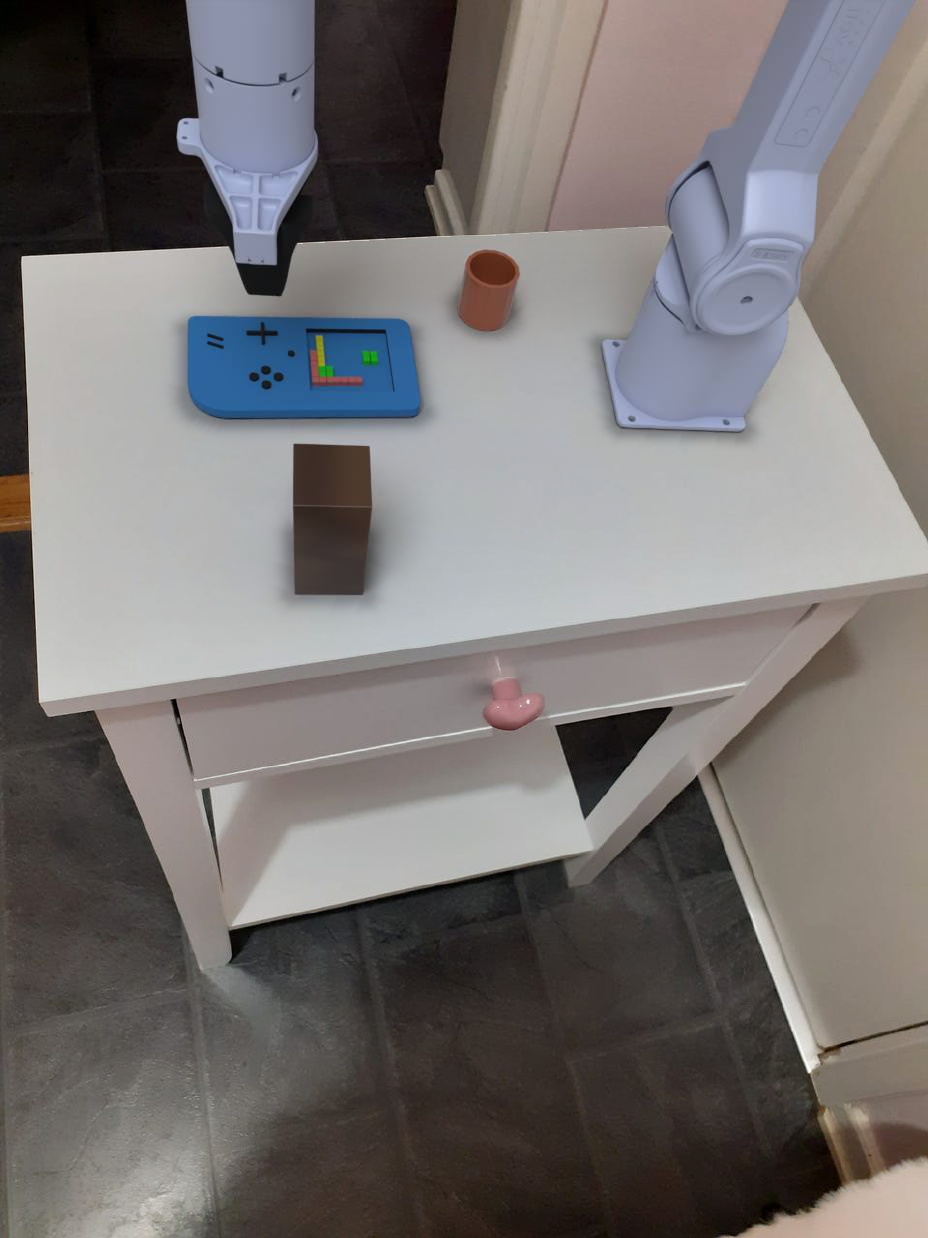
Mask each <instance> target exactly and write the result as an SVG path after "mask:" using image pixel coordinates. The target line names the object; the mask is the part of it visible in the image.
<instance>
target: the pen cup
mask: <svg viewBox="0 0 928 1238" xmlns="http://www.w3.org/2000/svg"><path fill="white" fill-rule="evenodd" d="M520 275H521V272H520V267H519V265H518V264H517V262H516V261H515V259H513V258H512V257H511V256H510V255H508V254H507V253H504V252H502V251H499V250H496V249H481V250H477V251H474V252H473V253H472V254H470V255H468V257H467V259H466V261H465V264H464V269H463V275H462V280H461V285H460V290H459V296H458V302H457V314H458V316H459V317H460V320H461V321H462V322H463V323H464V324H466V325H467V326H468V327H470V328H472V329H474V330H478V331H482V332H493V331H497V330H500V329H501V328H503V327H504V326H505V325H506V324H507V322H508V321H509V317H510V314H511V311H512V307H513V304H514V303H513V302H514V300H515V295H516V291H517V288H518V283H519V280H520Z"/></svg>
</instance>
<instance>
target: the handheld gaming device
mask: <svg viewBox="0 0 928 1238" xmlns="http://www.w3.org/2000/svg"><path fill="white" fill-rule="evenodd" d="M419 387H420V386H419V381H418V375H417V367H416V359H415V354H414V347H413V340H412V334H411V327H410V324H409V323H408V322H407V321H406V320H404V319H401V318H388V317H387V318H385V317H384V318H379V317H378V318H377V317H375V318H374V317H313V316H312V317H306V316H305V317H304V316H303V317H302V316H298V317H297V316H239V315H238V316H234V315H233V316H230V315H226V316H225V315H193V316H191V317H189V318H188V320H187V388H188V395H189V397H190V399H191V401H192V403H193V404H194V406H196V407H197V408H198V409H199V410H201V411H202V412H203V413H205V414H208V415H210V416H213V417H217V418H221V419H266V418H267V419H271V418H272V419H274V418H275V419H276V418H277V419H278V418H279V419H280V418H281V419H282V418H283V419H284V418H286V419H287V418H288V419H289V418H290V419H292V418H294V419H295V418H297V419H298V418H407V417H408V418H410V417H415V416H417V415H418V414H419V413H420V409H421V403H422V402H421V394H420V388H419Z"/></svg>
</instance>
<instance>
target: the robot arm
mask: <svg viewBox="0 0 928 1238" xmlns="http://www.w3.org/2000/svg"><path fill="white" fill-rule="evenodd" d="M315 2H316V1H315V0H185V6H186V14H187V22H188V23H187V24H188V32H189V33H188V34H189V41H190V49H191V58H192V67H193V77H194V85H195V96H196V104H197V105H196V106H197V114H198V118H196V117H195V118H192V117H185V118H182V119H180V120H179V121H178V123H177V131H176V143H177V149H178V151H179V152H180V153H182V154H183V155H188V156H196V157H198V158H199V159H201V161H202V163H203V165H204V167H205V169H206V171H207V174H208V175H209V177H210V179H211V180H207V179H205V180H204V186H203V201H202V202H203V209H204V213H205V216H206V218H207V221H208V222H209V224H210V225H211V226H213V228H214V229H215V230H216V231H217V232H218V233H219V235H220V236H221V237H222V238H223V240H224V242H225V243H226V245H227V246H228V249H229V251H230V253H231V255H232V257H233V260H234V263H235V266H236V269H237V272H238V275H239V277H240V281H241V282H242V286H243V287H244V290H245V291H246V293H247V295H249V296H260V297H261V296H263V297H281V296H283V294H284V291H285V288H286V285H287V282H288V276H289V273H290V268H291V263H292V258H293V255H294V252H295V249H296V247H297V245H298V243H299V241H300V240H301V238H302V237H303V236H304V234H305V233H306V232H307V231H308V230H309V228H310V226H311V223H312V221H313V217H314V195H310V194H302V192H303V190H304V188H305V186H306V184H307V182H309V179H310V177H311V175H312V174H313V173H314V168H315V166H316V163H317V162H318V161H317V160H318V155H319V141H318V135H317V133H316V130H315V61H316V60H315V57H316V56H315V11H316V10H315V9H316V8H315V7H316V6H315V5H316V3H315ZM916 2H917V0H788V1H787V2H786V5H785V7H784V10H783V11H782V13H781V16H780V17H779V21H778V22H777V25H776V27H775V30H774V32H773V34H772V36H771V39H770V41H769V43H768V45H767V47H766V49H765V52H764V55H763V56H762V58H761V60H760V63H759V65H758V67H757V70H756V72H755V74H754V77H753V79H752V81H751V83H750V85H749V88H748V90H747V92H746V95H745V97H744V99H743V101H742V103H741V106H740V108H739V110H738V112H737V113H736V114H737V115H736V117H735V119H734V121H733V124H732V125H731V126H726V127H722V128H717V129H714V130H711V131H710V132H709V133H708V134H707V136H706V139H705V141H704V144H703V146H702V148H701V149H700V151H699V152H698V155H697V156H696V158H695V159H694V160H693V161H692V162H691V164H690V165H689V166H688V167H687V168H685V170H684V171H682V172H681V173H680V174H679V175H678V176H677V177H676V179H675V181H673V183H672V185H671V186H670V188H669V190H668V193H667V195H666V198H665V203H664V215H665V221H666V223H667V226H668V228H669V230H670V231H671V232H672V233H671V234H670V236H669V239H668V241H667V243H666V246H665V248H664V253H663V255H661V258H660V259H659V261H658V263H657V265H656V268H655V271H654V273H653V276H652V277H651V281H650V282H649V285H648V287H647V290H646V292H645V295H644V297H643V300H642V302H641V305H640V307H639V310H638V312H637V314H636V317H635V319H634V322H633V324H632V326H631V329H630V331H629V334H628V336H627V339H612V338H607V339H604V340H603V341H602V342H601V351H602V352H601V353H602V355H603V362H604V365H605V371H606V377H607V381H608V386H609V390H610V395H611V401H612V405H613V411H614V415H615V421H616V424H617V425H618V426H619V427H621V428H629V429H630V428H631V429H632V428H633V429H634V428H635V429H656V430H657V429H659V430H660V429H662V430H685V431H686V430H687V431H689V430H690V431H712V432H713V431H714V432H715V431H716V432H737V433H738V432H739V433H740V432H743V431H744V429H746V426H747V422H746V419H745V416H746V414H747V413H748V411H749V409H750V408H751V406H752V404H753V403H754V401H755V400H756V398H757V396H759V395H758V394H759V393H760V391H761V390H762V388H763V387H764V385H765V383H766V382H767V380H768V379H769V377H770V375H771V374H772V372H773V370H774V369H775V367H776V366H777V364H778V362H779V360H780V358H781V356H782V353H783V351H784V347H785V345H786V341H787V336H788V330H789V309H790V307H792V305H793V304H794V302H795V300H796V299H797V296H798V294H799V292H800V287H801V284H802V283H801V282H802V281H801V278H802V277H801V274H802V273H801V272H802V266H803V262H804V260H805V258H806V256H807V254H808V252H809V250H810V249H811V247H812V245H813V244H814V241H815V234H816V218H817V217H816V216H817V202H818V199H817V198H818V183H819V176H820V173H821V171H822V170H823V167H824V165H825V164H826V162H827V161H828V158H829V157H830V155H831V153H832V151H833V149H834V148H835V146H836V144H837V143H838V140H839V139H840V137H841V135H842V133H843V131H844V130H845V128H846V126H847V124H848V123H849V121H850V119H851V118H852V115H853V114H854V113H855V110H856V108H857V107H858V105H859V103H860V101H861V99H862V97H863V96H864V94H865V92H866V90H867V89H868V87H869V85H870V83H871V82H872V80H873V78H874V76H875V74H876V72H877V71H878V69H879V67H880V65H881V64H882V61H884V59H885V57H886V55H887V54H888V51H889V49H890V47H891V46H892V44H893V43H894V40H895V39H896V37H897V35H898V34H899V32H900V30H901V28H902V27H903V24H904V23H905V21H906V19H907V17H908V16H909V14H910V12H911V10H912V9H913V6H914V5H915V3H916Z"/></svg>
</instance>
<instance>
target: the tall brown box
mask: <svg viewBox="0 0 928 1238" xmlns="http://www.w3.org/2000/svg"><path fill="white" fill-rule="evenodd" d="M292 451H293V453H292V532H293V535H292V536H293V538H292V539H293V580H294V581H293V583H294V584H293V585H294V595H325V596H326V595H335V596H336V595H337V596H339V595H341V596H343V595H345V596H347V595H348V596H350V595H351V596H352V595H353V596H362V595H363V594H364V588H365V586H364V585H365V578H366V570H367V562H368V561H367V560H368V550H369V542H370V532H371V522H372V515H373V491H372V489H373V488H372V468H371V467H372V464H371V463H372V462H371V447H370V445H356V444H355V445H353V444H351V445H350V444H323V443H322V444H321V443H293V445H292Z"/></svg>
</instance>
